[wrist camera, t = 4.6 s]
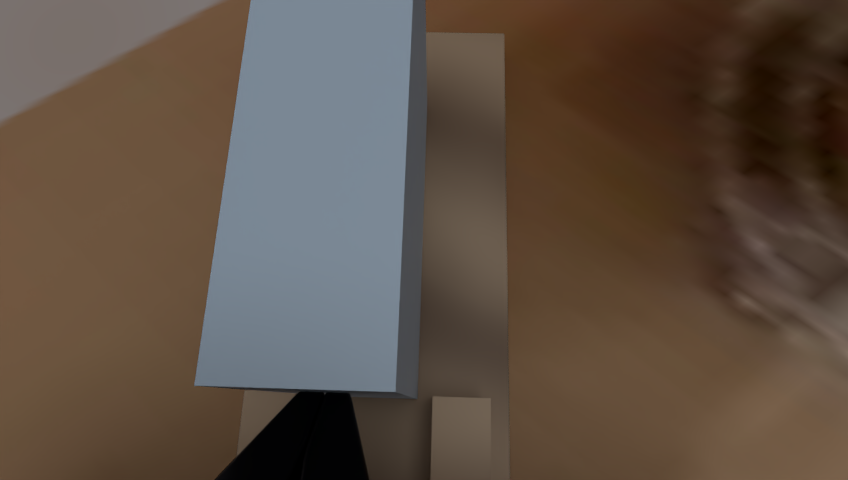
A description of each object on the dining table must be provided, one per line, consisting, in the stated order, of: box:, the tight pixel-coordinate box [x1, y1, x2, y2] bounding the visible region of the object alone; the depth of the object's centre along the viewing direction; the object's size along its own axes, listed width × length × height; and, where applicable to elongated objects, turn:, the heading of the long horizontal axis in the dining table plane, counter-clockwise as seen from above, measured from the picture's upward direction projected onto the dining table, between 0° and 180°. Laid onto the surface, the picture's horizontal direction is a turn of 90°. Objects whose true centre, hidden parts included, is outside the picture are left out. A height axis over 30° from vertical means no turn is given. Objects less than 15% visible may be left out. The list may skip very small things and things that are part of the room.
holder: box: [236, 32, 510, 480], centre depth 16 cm, size 22×8×4 cm, turn 178°
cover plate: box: [194, 0, 427, 399], centre depth 13 cm, size 10×2×10 cm, turn 178°
